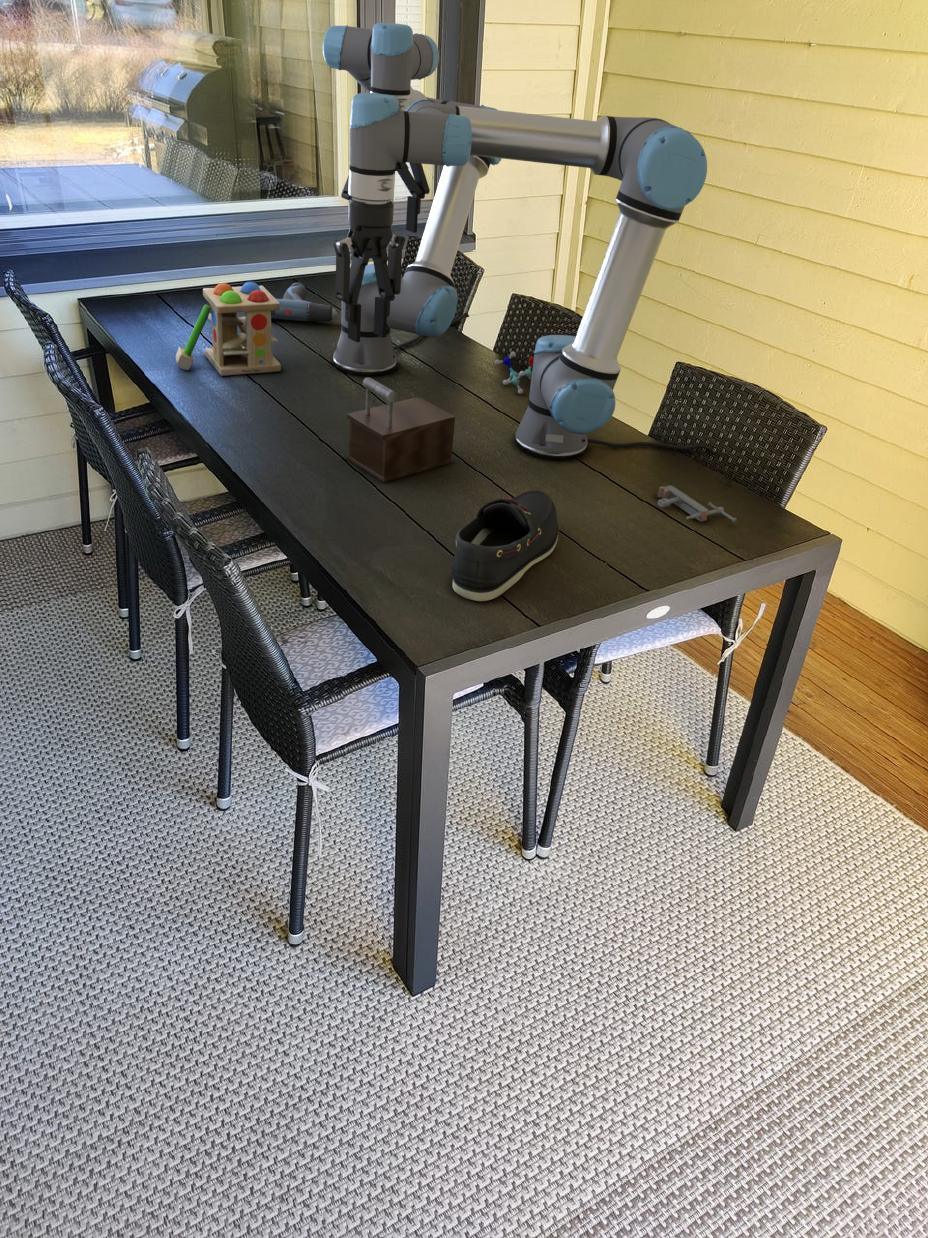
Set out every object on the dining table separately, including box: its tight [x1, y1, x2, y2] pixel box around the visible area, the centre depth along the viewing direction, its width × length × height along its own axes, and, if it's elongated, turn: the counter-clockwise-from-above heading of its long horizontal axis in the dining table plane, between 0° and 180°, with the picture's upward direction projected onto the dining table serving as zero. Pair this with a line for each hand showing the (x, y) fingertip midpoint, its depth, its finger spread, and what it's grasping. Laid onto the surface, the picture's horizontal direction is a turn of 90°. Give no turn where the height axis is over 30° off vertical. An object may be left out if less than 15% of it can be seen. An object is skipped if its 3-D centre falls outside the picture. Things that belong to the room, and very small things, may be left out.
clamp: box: [656, 485, 738, 523], centre depth 187 cm, size 15×2×10 cm
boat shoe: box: [450, 489, 559, 602], centre depth 165 cm, size 13×33×10 cm, turn 147°
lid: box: [346, 376, 456, 440], centre depth 188 cm, size 18×12×8 cm, turn 131°
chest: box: [348, 420, 456, 483], centre depth 193 cm, size 17×12×9 cm
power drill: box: [271, 282, 338, 322], centre depth 265 cm, size 5×19×20 cm
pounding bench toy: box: [174, 281, 282, 377], centre depth 225 cm, size 23×14×18 cm, turn 116°
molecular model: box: [494, 351, 534, 395], centre depth 232 cm, size 12×10×10 cm
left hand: (385, 234), depth 199 cm, fingers open, 13 cm apart
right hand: (367, 337), depth 175 cm, fingers open, 5 cm apart
